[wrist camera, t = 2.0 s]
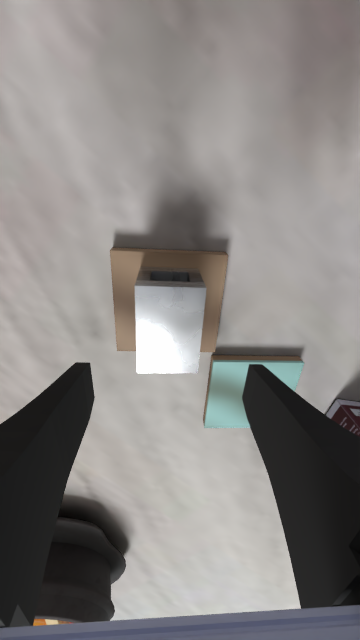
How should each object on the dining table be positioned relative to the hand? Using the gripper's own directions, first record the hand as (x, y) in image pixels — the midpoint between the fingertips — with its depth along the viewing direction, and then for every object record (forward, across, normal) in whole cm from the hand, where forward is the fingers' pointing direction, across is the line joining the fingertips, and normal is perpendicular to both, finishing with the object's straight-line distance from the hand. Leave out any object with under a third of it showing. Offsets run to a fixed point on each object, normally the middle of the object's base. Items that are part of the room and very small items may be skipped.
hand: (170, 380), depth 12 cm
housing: (+8, 0, 0) cm, 8 cm away
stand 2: (+9, -8, +9) cm, 15 cm away
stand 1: (+9, 0, 0) cm, 9 cm away
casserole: (+10, +14, +39) cm, 43 cm away
